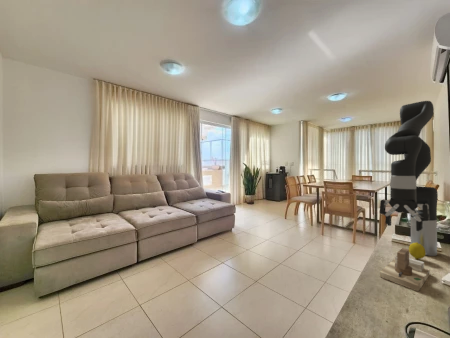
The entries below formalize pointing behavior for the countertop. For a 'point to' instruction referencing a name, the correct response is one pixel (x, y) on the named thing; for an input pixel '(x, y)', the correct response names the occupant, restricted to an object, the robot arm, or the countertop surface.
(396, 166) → the robot arm
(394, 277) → the tuner board
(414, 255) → the lemon
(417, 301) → the countertop surface
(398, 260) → the peg
